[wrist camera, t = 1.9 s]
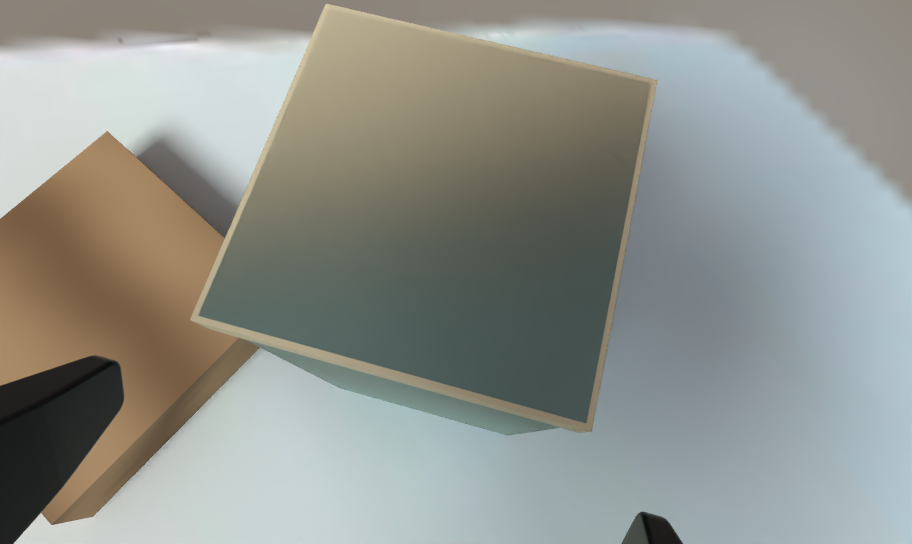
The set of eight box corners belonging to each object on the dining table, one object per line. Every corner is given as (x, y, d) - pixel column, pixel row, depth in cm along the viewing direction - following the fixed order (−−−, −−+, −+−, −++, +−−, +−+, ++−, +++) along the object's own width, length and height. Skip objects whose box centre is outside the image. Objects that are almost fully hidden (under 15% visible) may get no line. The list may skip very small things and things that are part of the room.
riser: (100, 514, 19) (51, 525, 17) (-59, 333, 21) (-123, 319, 19) (302, 309, 22) (284, 292, 19) (142, 162, 24) (107, 131, 21)
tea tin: (510, 438, 20) (591, 431, 8) (336, 389, 20) (189, 319, 9) (548, 270, 22) (657, 80, 10) (389, 229, 22) (326, 3, 11)
